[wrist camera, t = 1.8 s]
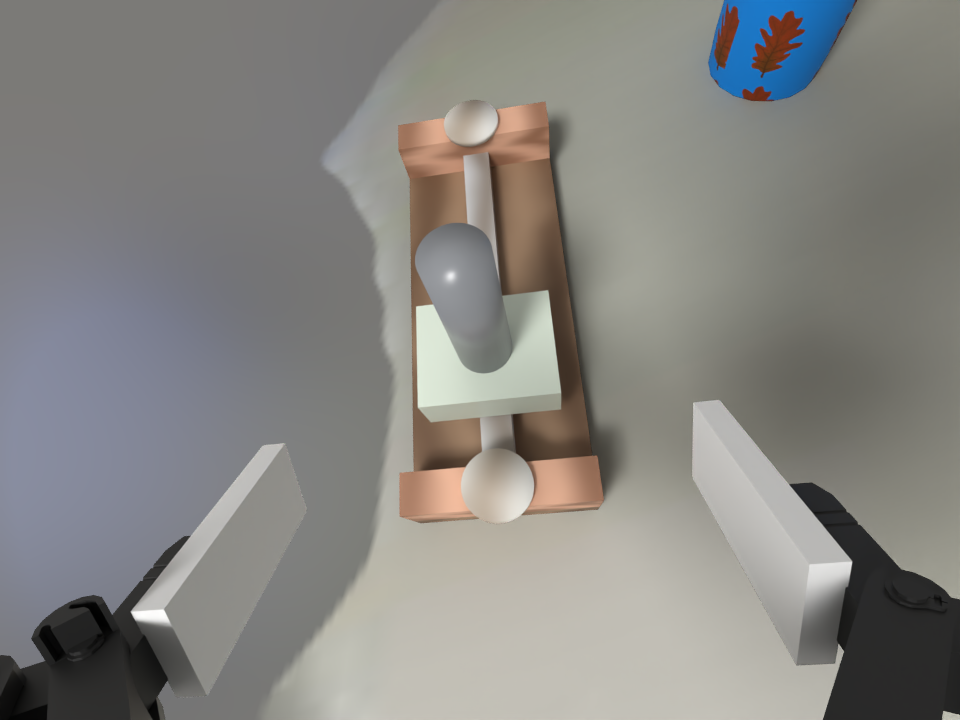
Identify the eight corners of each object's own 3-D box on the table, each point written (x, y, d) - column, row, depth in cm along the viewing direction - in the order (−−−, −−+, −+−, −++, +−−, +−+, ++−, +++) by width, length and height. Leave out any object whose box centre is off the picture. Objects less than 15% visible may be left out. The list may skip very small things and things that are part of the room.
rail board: (545, 141, 54) (543, 88, 48) (599, 522, 40) (606, 514, 34) (414, 162, 56) (396, 112, 50) (421, 536, 41) (397, 531, 35)
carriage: (549, 314, 42) (543, 178, 27) (560, 409, 39) (562, 314, 24) (428, 328, 43) (360, 205, 28) (430, 422, 40) (356, 338, 25)
